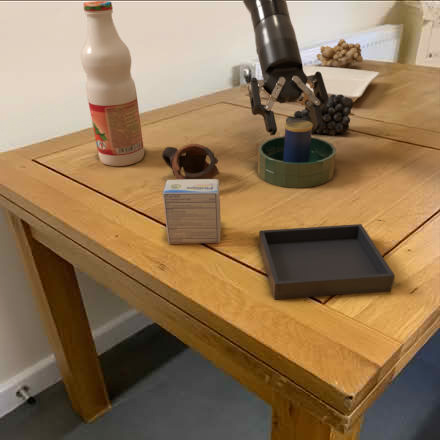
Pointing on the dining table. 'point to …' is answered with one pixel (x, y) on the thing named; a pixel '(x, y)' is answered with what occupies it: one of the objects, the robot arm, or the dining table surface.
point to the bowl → (296, 164)
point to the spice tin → (297, 141)
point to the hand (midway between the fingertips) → (296, 130)
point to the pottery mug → (191, 161)
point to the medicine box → (192, 211)
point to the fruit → (330, 115)
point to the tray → (323, 262)
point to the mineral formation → (340, 55)
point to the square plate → (341, 80)
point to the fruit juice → (111, 89)
